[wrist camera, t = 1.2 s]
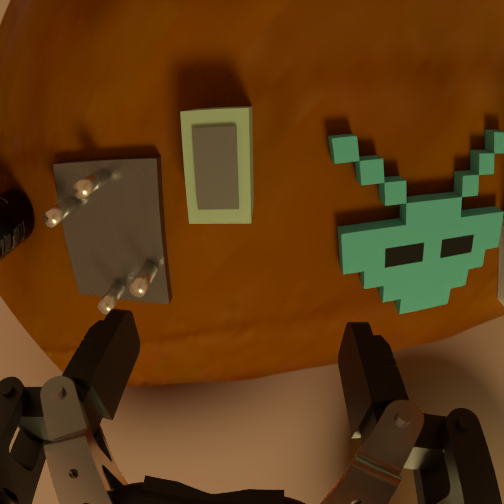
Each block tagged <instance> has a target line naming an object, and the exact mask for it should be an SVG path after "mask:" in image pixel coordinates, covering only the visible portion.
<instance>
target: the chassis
mask: <svg viewBox="0 0 504 504" xmlns="http://www.w3.org/2000/svg"><path fill="white" fill-rule="evenodd" d="M53 169H54V177H55V184H56V191H57V197H58V203H59V204H58V205H56V206H55V207H53V208H52V209H50V210H49V211H48V212H46V213H45V214H44V222H45V223H46V225H47V226H48V227H54V226H55V225H57V224H58V223H59V222H61V221H62V225H63V230H64V235H65V239H66V244H67V248H68V252H69V256H70V260H71V264H72V268H73V272H74V276H75V280H76V283H77V287H78V290H79V293H80V294H86V295H93V296H101V297H103V298H102V299H101V301H100V302H99V304H98V309H99V310H100V311H101V312H102V313H103V314H108V313H109V311H110V310H111V309H113V308H114V306H115V305H116V303H117V302H118V300H119V299H125V300H133V301H142V302H151V303H161V304H170V302H171V299H172V294H171V285H170V276H169V267H168V257H167V247H166V236H165V223H164V210H163V194H162V174H161V156H138V157H114V158H97V159H83V160H71V161H60V162H57V163H55V164H53Z"/></svg>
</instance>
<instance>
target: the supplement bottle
mask: <svg viewBox="0 0 504 504" xmlns="http://www.w3.org/2000/svg"><path fill="white" fill-rule="evenodd" d="M33 228H34V213H33V210H32V207H31V205H30V203H29V201H28V199H27V198H26V197H25V196H24V195H23V194H22V193H21V192H19V191H17V190H14V189H10V190H7V191H5V192H3V193H1V194H0V260H2V259H3V258H4V257H5V256H6V255H8V254H9V253H10V252H11V251H12V250H14V249H15V248H16V247H17V246H18V245H20V244H21V243H22V242H23V241H25V240H26V239H27V238H28V237H29V236H30V235H31V233H32V231H33Z"/></svg>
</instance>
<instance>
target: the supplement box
mask: <svg viewBox="0 0 504 504" xmlns="http://www.w3.org/2000/svg"><path fill="white" fill-rule="evenodd" d="M497 299H498V300H499V301H500V302H501V303H502V304H503V306H504V218H503V221H502V228H501V234H500V240H499V267H498V292H497Z"/></svg>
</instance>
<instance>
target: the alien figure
mask: <svg viewBox="0 0 504 504" xmlns="http://www.w3.org/2000/svg"><path fill="white" fill-rule="evenodd" d="M328 140H329V148H330V156H331V160H332V161H333V162H334V163H335V164H337V163H345V162H355V169H356V180H357V181H358V182H359V183H360V184H361V185H369V184H378V183H379V200H380V201H381V202H382V203H383V204H384V205H385V206H389V205H397V204H400V218H397V219H389V220H382V221H375V222H367V223H360V224H353V225H346V226H338V242H339V259H340V267H341V270H342V273H343V274H349V273H356V272H360V281H361V283H362V285H363V288H364V289H368V288H374V287H379V292H378V293H379V295H380V297H381V300H382V302H388V301H393V300H395V307H396V309H397V311H398V313H399V314H403V313H408V312H413V311H417V310H422V309H426V308H431V307H435V306H440V305H444V304H448V299H449V294H450V289H451V288H455V287H460V286H464V285H465V284H466V279H467V274H468V269H472V268H477V267H481V266H482V265H483V260H484V254H485V250H486V249H491V248H496V247H498V246H499V240H500V234H501V228H502V221H503V213H504V212H503V211H502V210H500V209H499V208H498V207H496V206H491V207H483V208H475V209H466V210H461V206H462V197H468V196H478V185H479V175H485V174H494V153H504V132H503V131H500V130H487V129H485V150H470V170H466V171H454V192H445V193H435V194H426V195H416V196H407V197H406V180H405V179H403V178H402V177H400V176H391V177H384V165H383V158H381V157H379V156H378V155H371V156H361V157H359V150H358V141H357V136H356V135H354V134H341V135H332V136H328Z"/></svg>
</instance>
